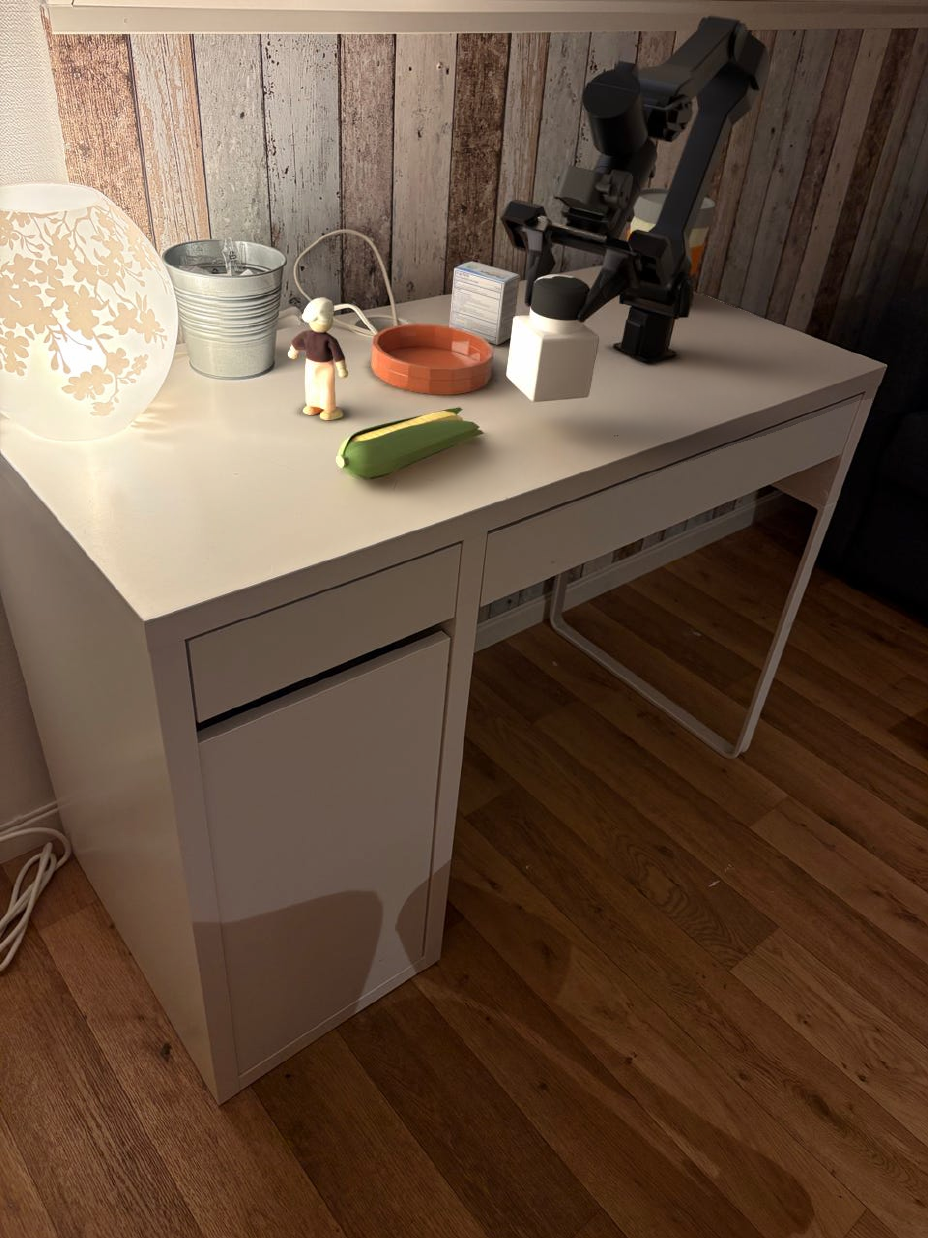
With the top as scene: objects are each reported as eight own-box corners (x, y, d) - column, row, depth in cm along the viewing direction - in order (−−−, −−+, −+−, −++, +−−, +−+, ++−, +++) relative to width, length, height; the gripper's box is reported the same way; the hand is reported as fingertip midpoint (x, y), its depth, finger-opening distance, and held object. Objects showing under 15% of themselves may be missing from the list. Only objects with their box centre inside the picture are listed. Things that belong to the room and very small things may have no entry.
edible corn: (322, 474, 96) (323, 432, 93) (464, 426, 108) (468, 388, 106) (356, 495, 93) (357, 452, 91) (497, 444, 106) (502, 405, 103)
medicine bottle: (589, 398, 107) (609, 289, 100) (531, 403, 104) (547, 292, 97) (560, 372, 112) (577, 267, 105) (504, 376, 110) (518, 269, 102)
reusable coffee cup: (674, 317, 147) (698, 213, 138) (600, 295, 152) (619, 194, 143) (704, 299, 156) (729, 200, 147) (634, 279, 161) (653, 183, 152)
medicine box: (513, 338, 133) (522, 274, 127) (497, 346, 129) (505, 281, 124) (465, 322, 136) (471, 259, 130) (447, 330, 132) (453, 266, 127)
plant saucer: (440, 340, 129) (442, 316, 127) (515, 381, 120) (518, 356, 118) (348, 358, 121) (348, 333, 119) (420, 403, 112) (422, 377, 110)
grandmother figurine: (357, 412, 108) (361, 300, 101) (343, 425, 105) (346, 310, 98) (295, 397, 110) (294, 285, 102) (279, 410, 107) (277, 295, 99)
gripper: (520, 115, 99) (454, 246, 98) (690, 151, 92) (621, 293, 91) (544, 185, 110) (485, 305, 108) (699, 222, 103) (637, 350, 101)
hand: (552, 312), depth 102 cm, fingers closed on medicine bottle, 6 cm apart
